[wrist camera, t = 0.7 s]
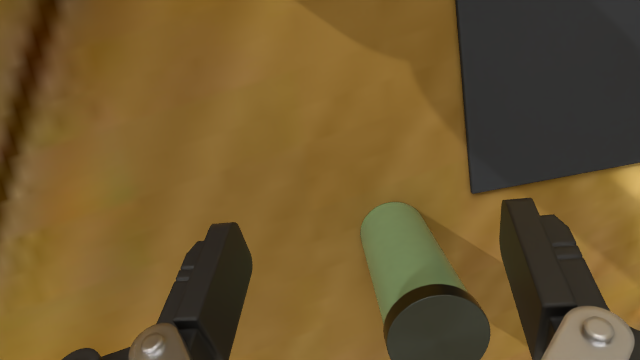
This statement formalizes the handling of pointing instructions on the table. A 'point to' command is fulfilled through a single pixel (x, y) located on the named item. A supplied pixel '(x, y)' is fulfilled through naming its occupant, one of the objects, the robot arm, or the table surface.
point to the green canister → (419, 290)
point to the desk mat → (548, 88)
